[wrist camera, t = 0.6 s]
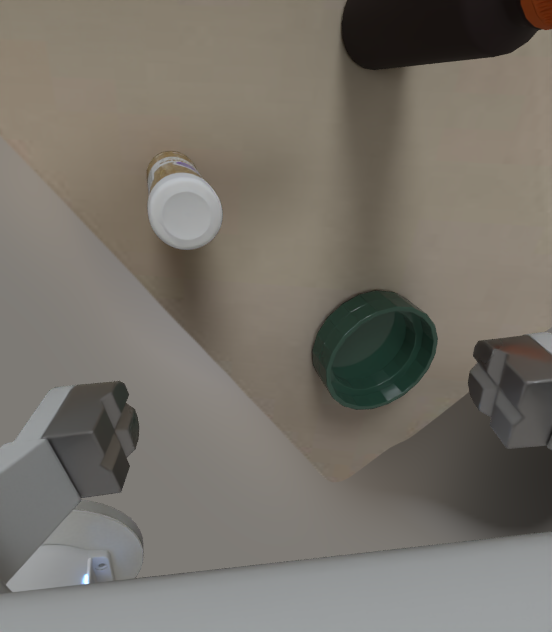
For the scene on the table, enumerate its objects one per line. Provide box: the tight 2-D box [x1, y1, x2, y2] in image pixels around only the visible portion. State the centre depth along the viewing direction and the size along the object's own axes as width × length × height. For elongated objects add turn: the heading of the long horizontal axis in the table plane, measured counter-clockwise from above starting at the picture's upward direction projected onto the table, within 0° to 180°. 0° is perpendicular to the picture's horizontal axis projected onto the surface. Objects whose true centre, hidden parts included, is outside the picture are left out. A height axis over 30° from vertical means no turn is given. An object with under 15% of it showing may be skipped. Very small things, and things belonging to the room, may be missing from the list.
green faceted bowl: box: [312, 291, 438, 410], centre depth 49 cm, size 15×15×5 cm
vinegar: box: [342, 0, 552, 70], centre depth 25 cm, size 7×7×20 cm
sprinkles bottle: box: [147, 151, 223, 250], centre depth 29 cm, size 5×5×14 cm
